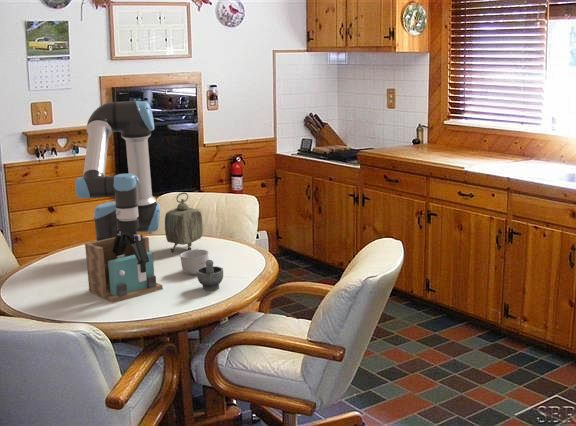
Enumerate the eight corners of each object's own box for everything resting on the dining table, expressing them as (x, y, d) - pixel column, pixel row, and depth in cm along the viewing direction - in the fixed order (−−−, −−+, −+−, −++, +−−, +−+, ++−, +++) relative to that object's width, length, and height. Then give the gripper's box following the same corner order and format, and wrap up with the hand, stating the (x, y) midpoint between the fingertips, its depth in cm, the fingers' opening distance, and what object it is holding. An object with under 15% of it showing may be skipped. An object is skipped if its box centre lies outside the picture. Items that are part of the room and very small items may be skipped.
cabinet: (89, 291, 272) (84, 243, 268) (137, 278, 285) (133, 232, 281) (113, 302, 259) (109, 252, 255) (162, 288, 273) (159, 240, 269)
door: (110, 293, 264) (107, 261, 262) (149, 283, 275) (147, 251, 272) (118, 297, 261) (115, 263, 258) (157, 286, 271) (154, 254, 269)
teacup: (204, 277, 285) (203, 257, 283) (177, 276, 287) (175, 256, 285) (215, 266, 298) (214, 247, 296) (189, 265, 300) (187, 246, 298)
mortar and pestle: (197, 284, 276) (196, 253, 274) (223, 283, 277) (222, 251, 274) (197, 294, 265) (195, 262, 263) (224, 293, 266) (222, 260, 264)
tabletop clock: (189, 244, 330) (186, 188, 325) (205, 247, 325) (202, 190, 320) (166, 252, 319) (162, 194, 313) (182, 255, 314) (178, 197, 308)
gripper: (99, 215, 269) (104, 271, 274) (137, 226, 251) (142, 287, 256) (118, 211, 274) (122, 267, 279) (156, 222, 256) (160, 281, 261)
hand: (132, 276), depth 267 cm, fingers open, 13 cm apart
